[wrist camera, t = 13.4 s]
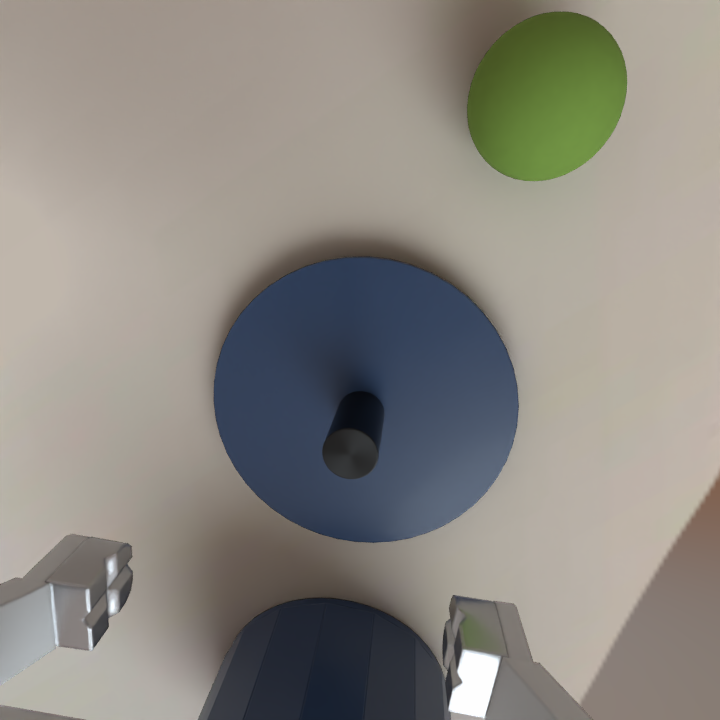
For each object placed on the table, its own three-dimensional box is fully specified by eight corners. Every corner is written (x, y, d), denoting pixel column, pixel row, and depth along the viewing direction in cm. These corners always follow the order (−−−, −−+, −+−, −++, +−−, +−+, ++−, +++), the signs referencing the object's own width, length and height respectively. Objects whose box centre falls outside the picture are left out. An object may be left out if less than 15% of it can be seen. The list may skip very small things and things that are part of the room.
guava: (435, 107, 21) (442, 70, 16) (547, 10, 20) (597, -66, 14) (507, 211, 22) (537, 210, 17) (619, 126, 21) (690, 95, 15)
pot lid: (174, 436, 27) (117, 490, 22) (312, 190, 23) (282, 183, 17) (403, 575, 28) (401, 659, 23) (579, 368, 24) (627, 412, 18)
